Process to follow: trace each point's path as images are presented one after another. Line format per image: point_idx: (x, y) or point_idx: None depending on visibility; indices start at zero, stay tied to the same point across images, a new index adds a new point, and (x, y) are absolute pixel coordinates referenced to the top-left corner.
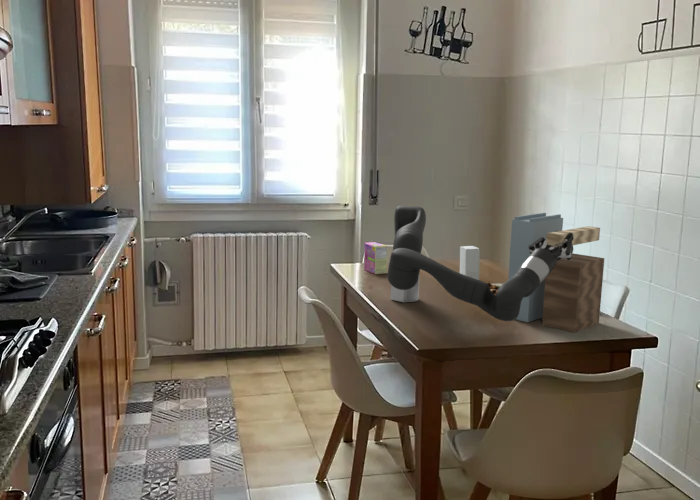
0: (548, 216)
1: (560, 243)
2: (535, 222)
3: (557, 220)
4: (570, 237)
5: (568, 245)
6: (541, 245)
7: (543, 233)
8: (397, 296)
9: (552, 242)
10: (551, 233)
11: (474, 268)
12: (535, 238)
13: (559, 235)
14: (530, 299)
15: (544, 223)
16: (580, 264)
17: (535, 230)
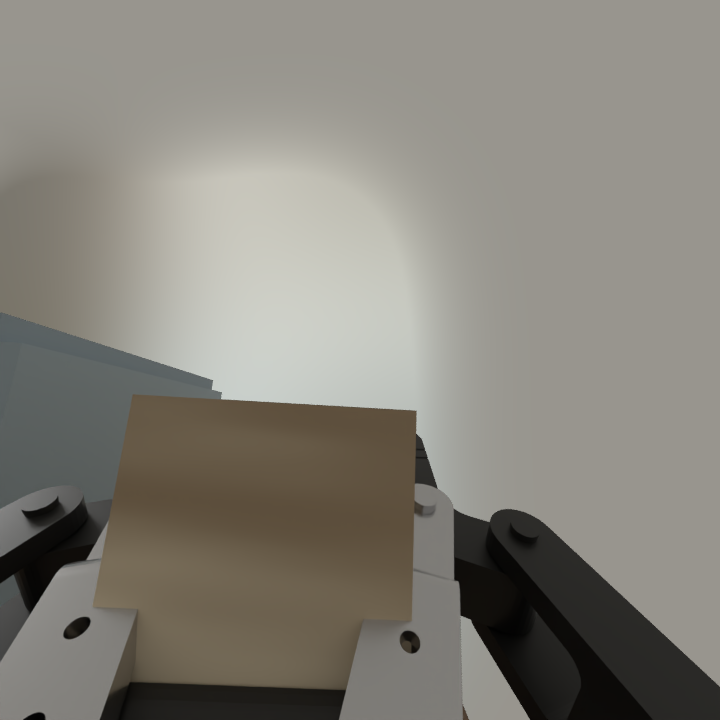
0: (162, 364)
1: (444, 601)
2: (38, 349)
3: (202, 395)
4: (423, 459)
5: (595, 618)
6: (11, 637)
7: (118, 452)
8: None
9: (259, 603)
10: (233, 402)
11: None
12: (19, 497)
13: (415, 426)
14: None
15: (133, 387)
16: (466, 716)
17: (29, 422)
